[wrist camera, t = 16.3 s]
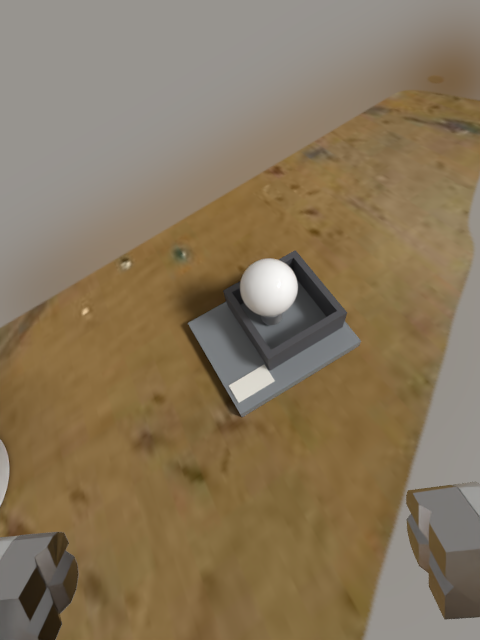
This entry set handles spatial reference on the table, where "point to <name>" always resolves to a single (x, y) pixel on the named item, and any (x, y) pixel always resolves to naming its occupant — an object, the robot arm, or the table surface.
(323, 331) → the socket board
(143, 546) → the table surface
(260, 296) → the lightbulb
